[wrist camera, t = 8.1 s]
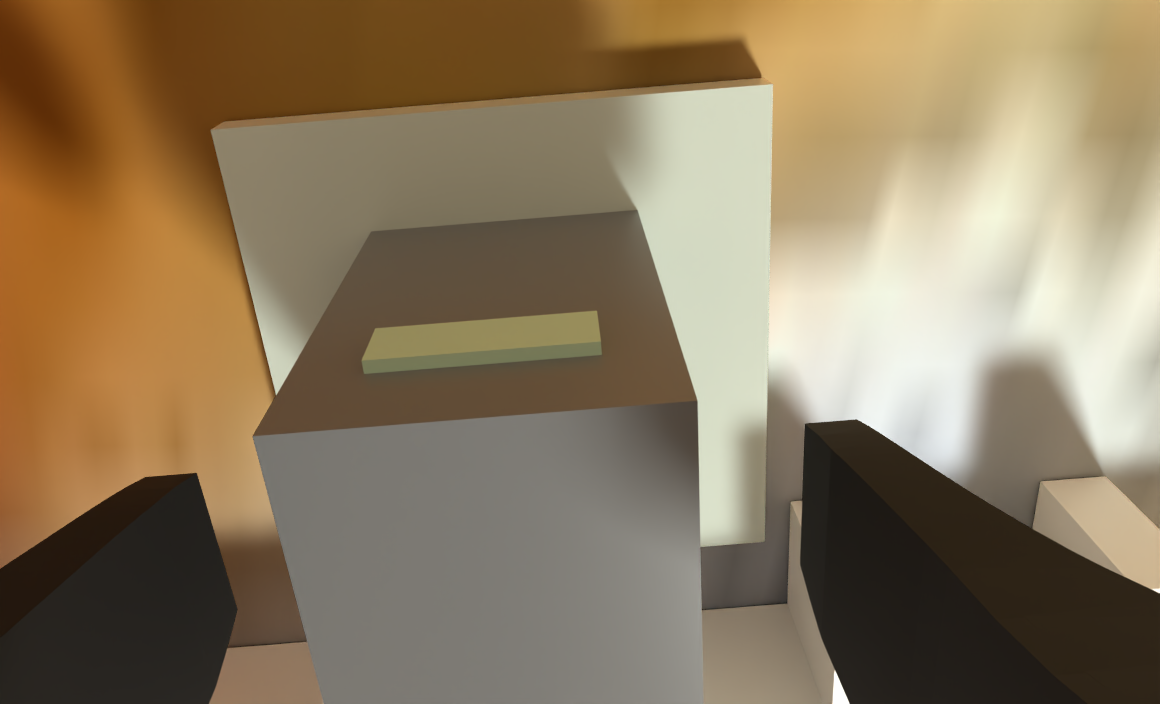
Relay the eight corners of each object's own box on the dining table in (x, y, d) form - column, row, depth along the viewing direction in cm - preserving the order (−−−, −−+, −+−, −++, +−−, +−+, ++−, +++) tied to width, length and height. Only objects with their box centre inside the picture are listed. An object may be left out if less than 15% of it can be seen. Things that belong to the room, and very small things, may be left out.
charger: (655, 597, 17) (708, 921, 11) (439, 614, 17) (388, 946, 11) (637, 199, 13) (697, 385, 8) (369, 221, 13) (247, 422, 8)
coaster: (757, 521, 17) (764, 541, 16) (328, 556, 17) (320, 577, 16) (764, 77, 13) (772, 84, 13) (224, 121, 13) (210, 129, 13)
